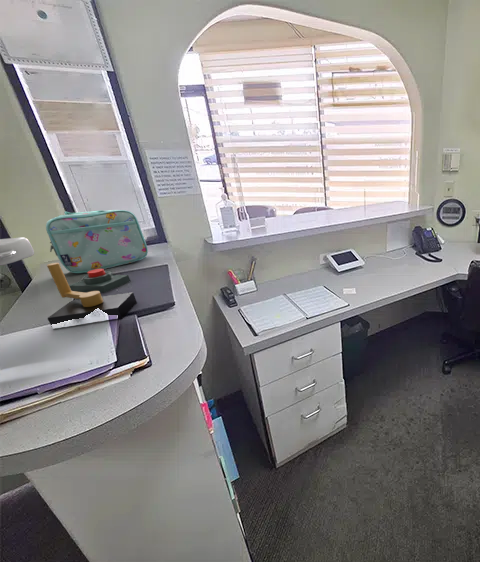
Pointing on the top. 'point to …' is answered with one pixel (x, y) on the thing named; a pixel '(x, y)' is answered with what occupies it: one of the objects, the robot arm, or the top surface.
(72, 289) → the control box
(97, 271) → the red button
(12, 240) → the robot arm
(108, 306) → the valve block
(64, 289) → the crank handle
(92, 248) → the lunch box
